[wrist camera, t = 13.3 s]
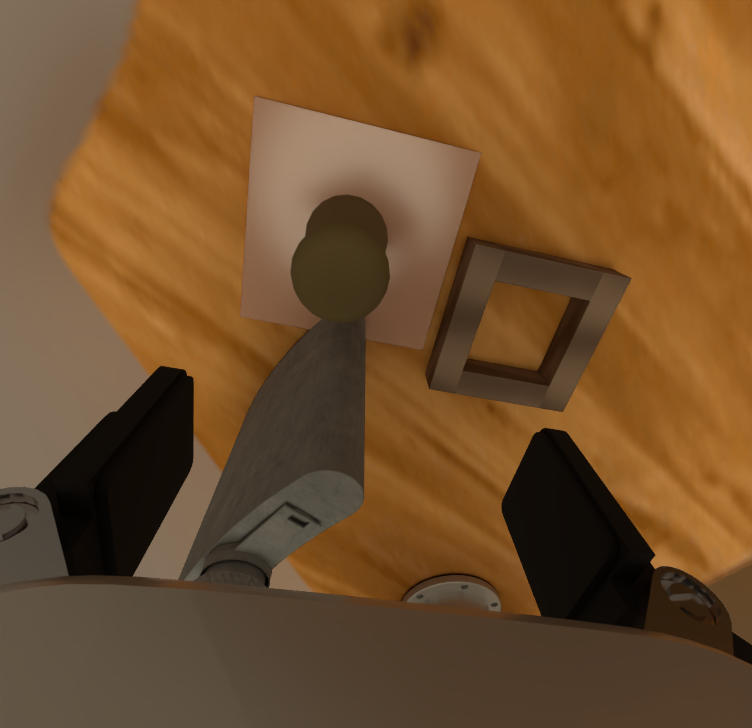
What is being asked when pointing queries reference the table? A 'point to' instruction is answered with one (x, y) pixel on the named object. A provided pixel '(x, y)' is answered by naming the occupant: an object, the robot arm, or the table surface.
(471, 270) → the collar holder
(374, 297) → the olive pawn shape
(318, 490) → the hip flask
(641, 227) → the table surface
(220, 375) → the table surface
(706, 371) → the table surface
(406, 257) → the terracotta tile
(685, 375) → the table surface
